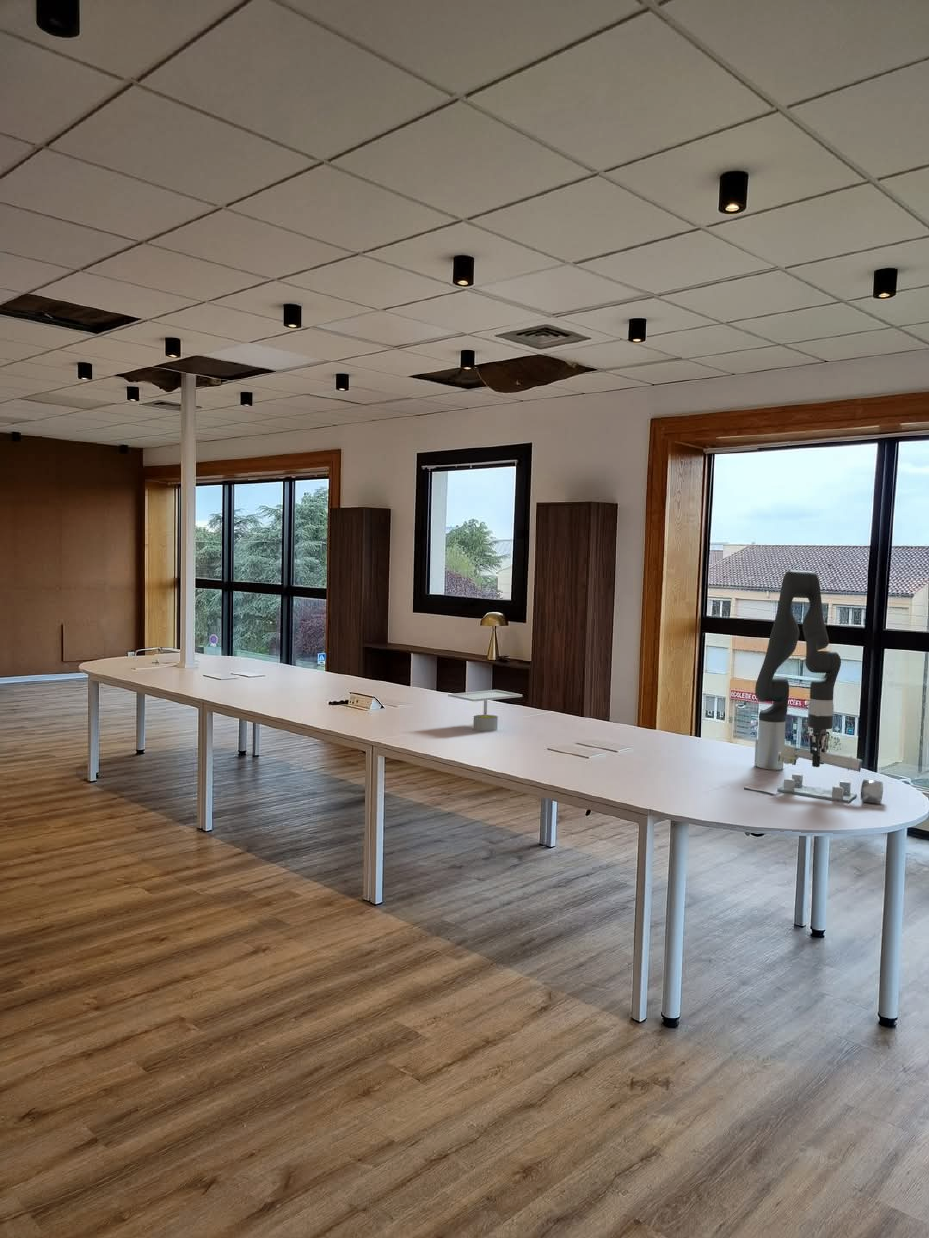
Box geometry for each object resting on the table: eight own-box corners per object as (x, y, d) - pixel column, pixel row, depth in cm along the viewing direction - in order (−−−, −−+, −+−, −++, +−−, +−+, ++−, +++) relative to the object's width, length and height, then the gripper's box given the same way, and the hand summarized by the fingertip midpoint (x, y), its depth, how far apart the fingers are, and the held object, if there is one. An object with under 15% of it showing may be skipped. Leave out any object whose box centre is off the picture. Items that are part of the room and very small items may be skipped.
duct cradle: (777, 791, 298) (778, 769, 298) (786, 785, 307) (787, 764, 306) (876, 807, 281) (877, 784, 280) (883, 800, 289) (884, 778, 289)
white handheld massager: (862, 760, 287) (779, 741, 298) (858, 781, 288) (775, 761, 298) (863, 757, 292) (781, 739, 302) (858, 777, 293) (777, 758, 303)
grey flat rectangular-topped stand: (495, 722, 410) (496, 689, 410) (521, 728, 397) (522, 694, 396) (446, 728, 393) (447, 694, 392) (472, 735, 380) (473, 699, 379)
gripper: (814, 709, 302) (812, 760, 303) (802, 714, 291) (800, 767, 292) (838, 711, 298) (836, 763, 299) (827, 716, 286) (824, 770, 287)
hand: (818, 765), depth 295 cm, fingers closed on white handheld massager, 5 cm apart
